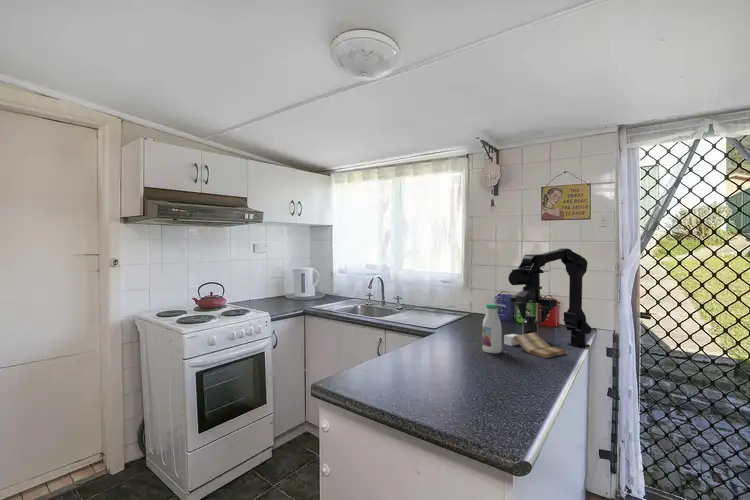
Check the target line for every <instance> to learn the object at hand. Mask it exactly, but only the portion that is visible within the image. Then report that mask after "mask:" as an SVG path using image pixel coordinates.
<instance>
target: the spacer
mask: <svg viewBox="0 0 750 500" xmlns="http://www.w3.org/2000/svg"><path fill="white" fill-rule="evenodd" d="M517 335H518V334H515V333H510V334H504V336H503V337H504V338H503V340H504V342H503V343H504V345H507V346H510V347H512V346H517V345H519V344H518V343H517V342H516V341H515V340H514V339H513V338H514V336H517Z"/></svg>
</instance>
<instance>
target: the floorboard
mask: <svg viewBox="0 0 750 500" xmlns="http://www.w3.org/2000/svg"><path fill="white" fill-rule="evenodd" d="M529 354H530V355H532V356H536V357H540V358H543V359H547V358H552V357H556V356H561V355H565V354H566V349H563V348H559V347H557V346H556V347H554V346H550V347H547V348H542V349H537V350H532V352H530V353H529Z"/></svg>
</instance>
